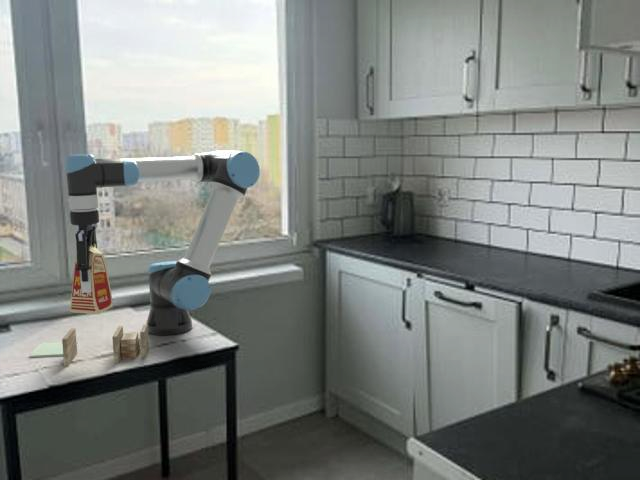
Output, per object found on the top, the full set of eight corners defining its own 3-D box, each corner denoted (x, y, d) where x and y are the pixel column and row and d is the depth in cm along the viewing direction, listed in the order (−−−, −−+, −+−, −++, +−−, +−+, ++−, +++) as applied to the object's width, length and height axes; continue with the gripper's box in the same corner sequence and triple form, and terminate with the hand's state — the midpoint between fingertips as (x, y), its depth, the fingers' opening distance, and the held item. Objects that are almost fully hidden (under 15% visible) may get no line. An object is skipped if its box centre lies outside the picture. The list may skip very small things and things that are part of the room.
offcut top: (138, 338, 182) (137, 332, 182) (135, 345, 176) (135, 339, 176) (124, 339, 182) (124, 333, 181) (121, 346, 176) (121, 339, 175)
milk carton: (98, 314, 168) (93, 244, 165) (68, 312, 170) (63, 243, 167) (115, 305, 177) (111, 239, 174) (87, 304, 179) (82, 238, 175)
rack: (148, 349, 184) (147, 324, 182) (144, 361, 174) (142, 335, 172) (73, 353, 180) (71, 328, 179) (64, 366, 171) (62, 339, 169)
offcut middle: (139, 345, 182) (139, 339, 182) (135, 352, 176) (134, 345, 176) (126, 345, 182) (125, 339, 182) (121, 352, 176) (120, 346, 176)
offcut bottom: (140, 351, 183) (139, 345, 182) (136, 358, 177) (135, 352, 176) (126, 352, 182) (126, 345, 182) (122, 359, 176) (121, 352, 176)
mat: (77, 343, 189) (77, 341, 189) (68, 355, 179) (68, 353, 179) (40, 345, 188) (40, 343, 188) (29, 357, 177) (29, 355, 177)
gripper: (79, 205, 178) (85, 279, 182) (59, 215, 157) (67, 298, 161) (105, 205, 179) (111, 278, 183) (89, 214, 158) (96, 297, 162)
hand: (90, 288), depth 172 cm, fingers closed on milk carton, 8 cm apart
